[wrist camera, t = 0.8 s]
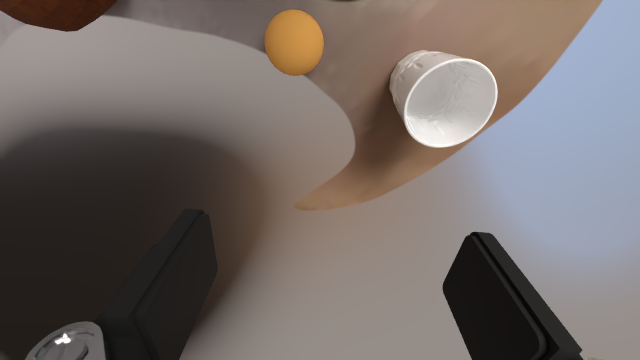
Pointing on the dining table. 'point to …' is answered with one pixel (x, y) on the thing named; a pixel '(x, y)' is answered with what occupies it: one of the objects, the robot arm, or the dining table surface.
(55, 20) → the potato
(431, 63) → the white cup
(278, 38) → the ball
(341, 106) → the dining table surface
